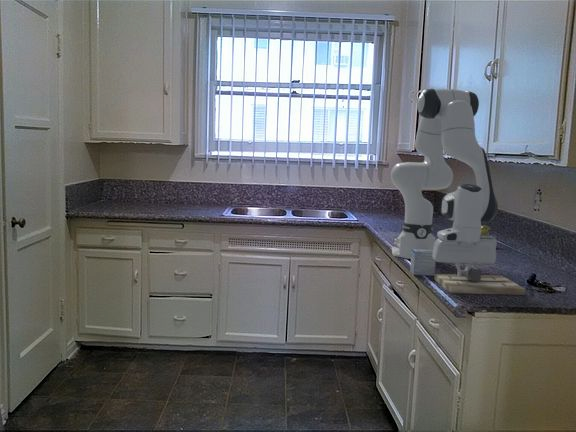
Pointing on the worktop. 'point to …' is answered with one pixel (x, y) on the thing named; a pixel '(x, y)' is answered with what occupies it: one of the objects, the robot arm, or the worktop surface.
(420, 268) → the medicine box
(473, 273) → the fader knob
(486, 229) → the yellow lumpy upright piece
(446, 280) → the console
